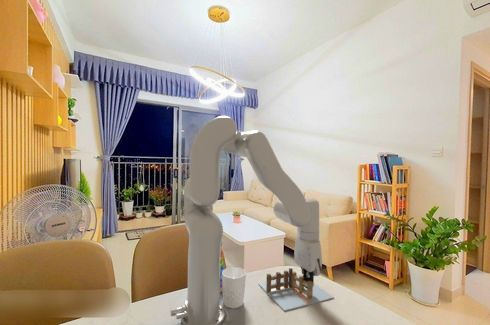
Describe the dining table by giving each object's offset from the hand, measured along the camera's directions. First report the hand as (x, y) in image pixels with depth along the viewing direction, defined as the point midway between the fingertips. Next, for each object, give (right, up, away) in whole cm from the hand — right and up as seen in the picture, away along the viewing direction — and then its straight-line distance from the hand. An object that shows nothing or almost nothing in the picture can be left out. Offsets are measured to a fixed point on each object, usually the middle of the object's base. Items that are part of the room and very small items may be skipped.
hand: (308, 286), depth 87 cm
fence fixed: (-10, -3, +3) cm, 10 cm away
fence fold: (-2, -2, 0) cm, 3 cm away
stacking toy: (-33, -3, +3) cm, 33 cm away
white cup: (-26, -3, -5) cm, 27 cm away
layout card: (-4, -3, +2) cm, 6 cm away
